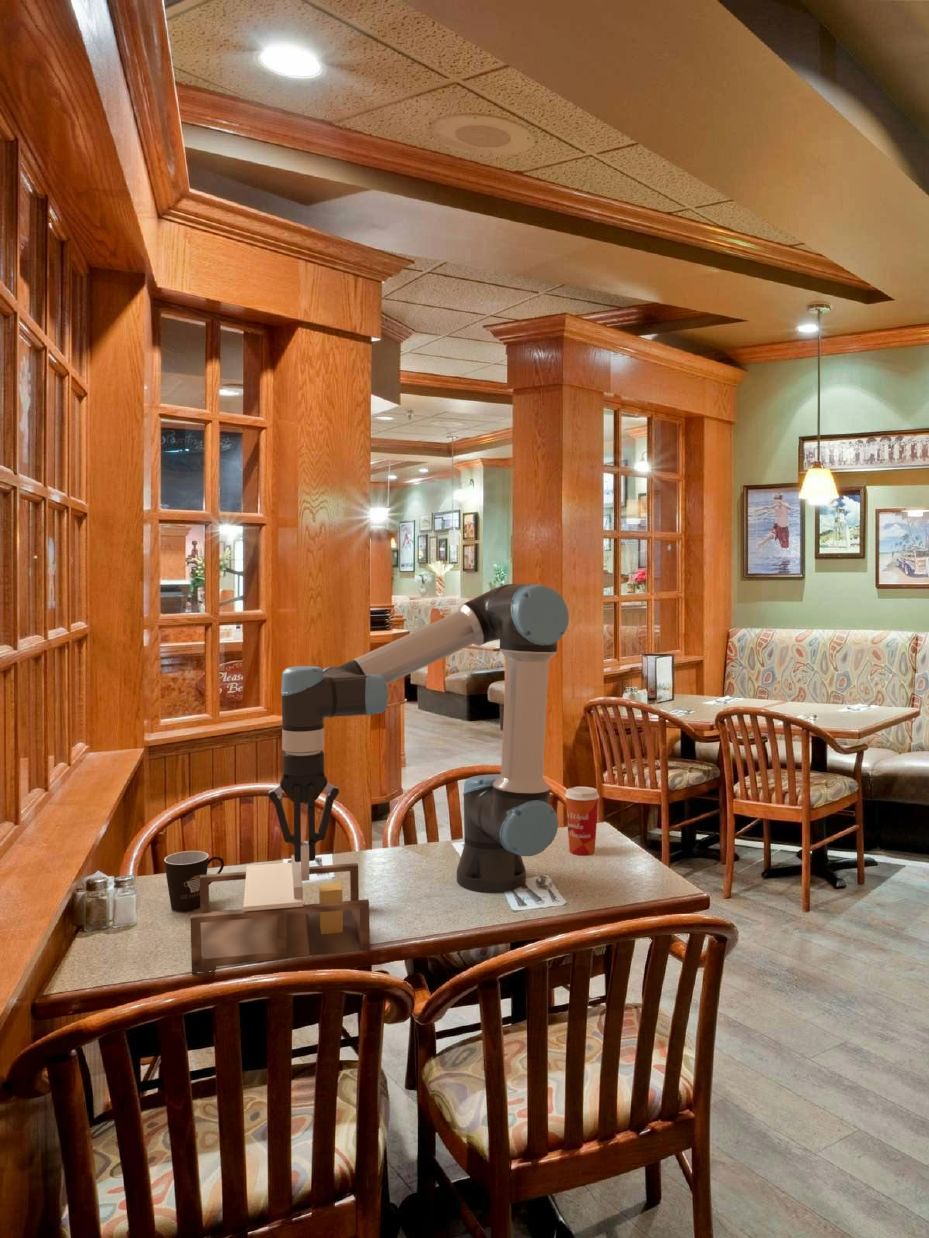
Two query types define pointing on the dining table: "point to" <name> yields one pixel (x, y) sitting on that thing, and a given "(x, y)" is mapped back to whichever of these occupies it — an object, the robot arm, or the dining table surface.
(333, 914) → the block
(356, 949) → the wooden organizer rack
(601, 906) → the dining table surface
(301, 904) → the lid
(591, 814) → the coffee cup
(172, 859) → the coffee mug
